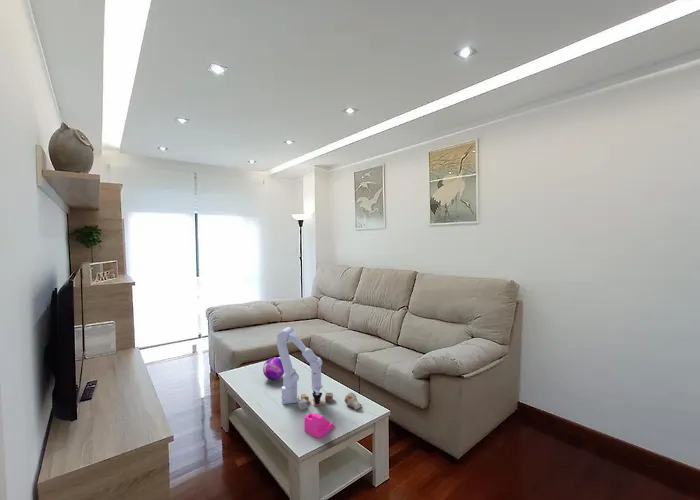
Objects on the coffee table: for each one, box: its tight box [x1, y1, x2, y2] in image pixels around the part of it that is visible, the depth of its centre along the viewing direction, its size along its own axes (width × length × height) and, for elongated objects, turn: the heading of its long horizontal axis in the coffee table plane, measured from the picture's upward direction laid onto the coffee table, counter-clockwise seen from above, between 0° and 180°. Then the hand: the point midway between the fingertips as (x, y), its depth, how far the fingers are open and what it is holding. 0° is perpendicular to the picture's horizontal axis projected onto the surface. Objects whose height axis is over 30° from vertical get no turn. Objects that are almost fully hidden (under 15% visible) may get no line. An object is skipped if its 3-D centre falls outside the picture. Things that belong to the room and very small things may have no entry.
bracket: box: [303, 412, 335, 439], centre depth 167 cm, size 12×10×10 cm
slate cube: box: [297, 398, 308, 411], centre depth 187 cm, size 4×4×4 cm
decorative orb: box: [262, 356, 284, 381], centre depth 224 cm, size 15×15×15 cm
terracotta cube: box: [312, 396, 322, 407], centre depth 191 cm, size 4×4×4 cm
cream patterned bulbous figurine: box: [344, 392, 363, 410], centre depth 188 cm, size 8×10×10 cm
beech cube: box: [300, 392, 310, 404], centre depth 194 cm, size 4×4×4 cm
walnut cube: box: [324, 392, 334, 403], centre depth 195 cm, size 4×4×4 cm
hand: (316, 400), depth 191 cm, fingers open, 7 cm apart
